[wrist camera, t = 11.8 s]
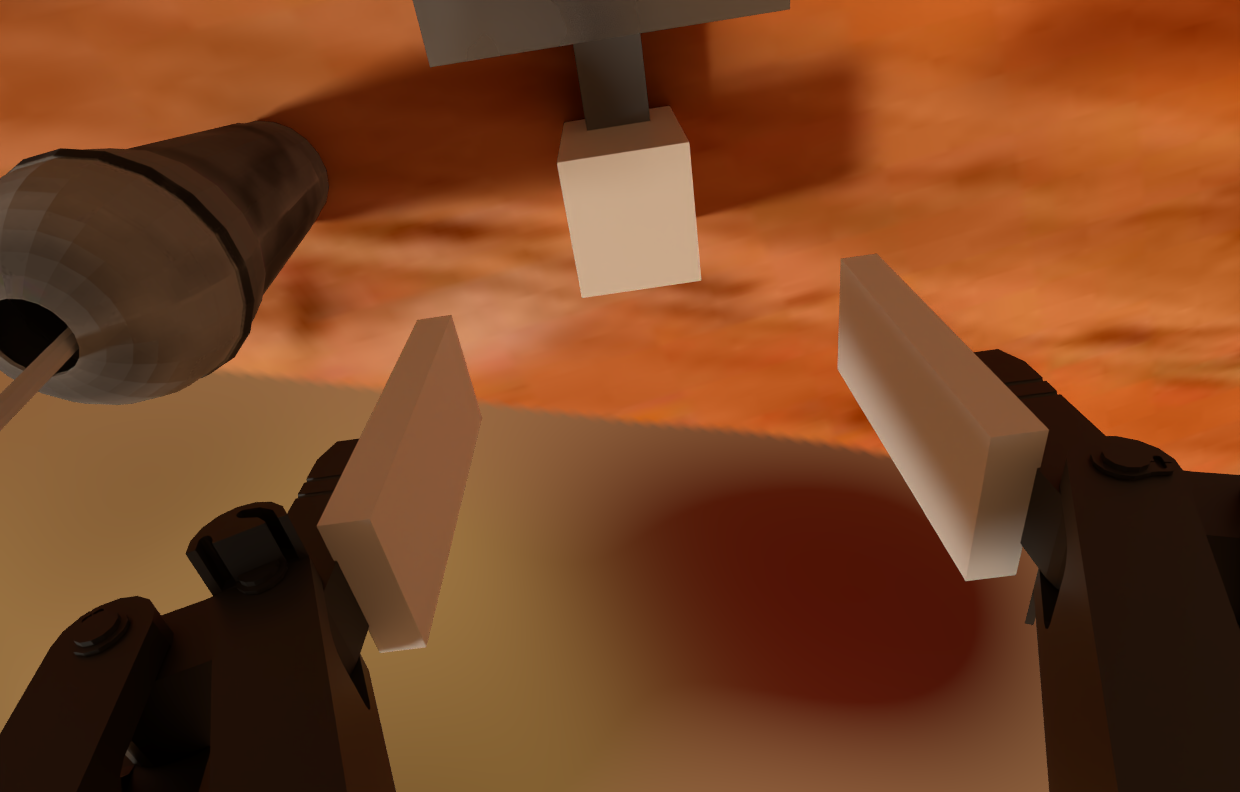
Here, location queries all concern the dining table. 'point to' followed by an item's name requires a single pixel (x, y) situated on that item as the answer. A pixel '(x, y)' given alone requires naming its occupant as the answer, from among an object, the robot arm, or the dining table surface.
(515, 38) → the grey slab
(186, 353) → the beverage cup
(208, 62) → the dining table surface
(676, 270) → the beige and grey hammer
